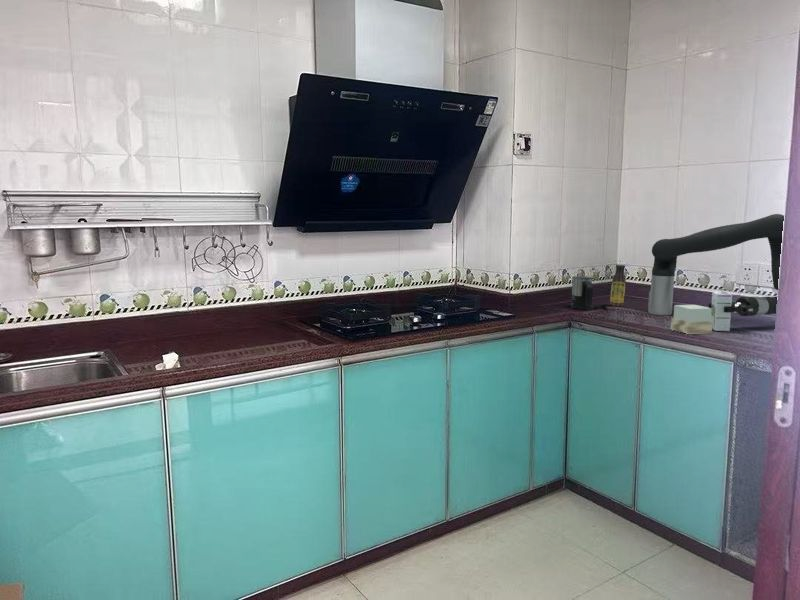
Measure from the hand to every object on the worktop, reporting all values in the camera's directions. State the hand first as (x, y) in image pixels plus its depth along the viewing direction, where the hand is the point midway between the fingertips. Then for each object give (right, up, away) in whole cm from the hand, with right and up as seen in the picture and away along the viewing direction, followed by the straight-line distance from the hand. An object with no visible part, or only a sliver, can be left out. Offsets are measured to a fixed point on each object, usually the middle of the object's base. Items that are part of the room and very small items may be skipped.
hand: (716, 307), depth 229 cm
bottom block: (-11, -9, -1) cm, 14 cm away
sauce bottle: (-16, 0, +60) cm, 63 cm away
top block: (-11, -5, -2) cm, 12 cm away
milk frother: (-32, -1, +51) cm, 61 cm away
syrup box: (+2, -9, +2) cm, 9 cm away
